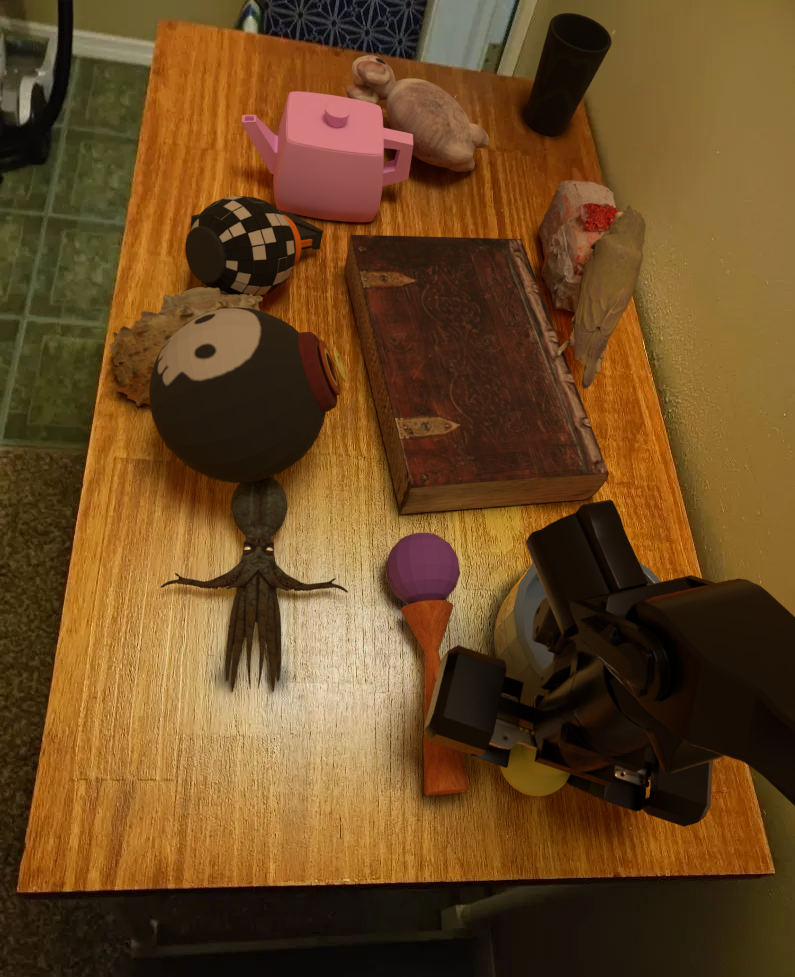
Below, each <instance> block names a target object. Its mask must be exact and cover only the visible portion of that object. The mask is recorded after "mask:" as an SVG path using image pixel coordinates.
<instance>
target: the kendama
mask: <svg viewBox="0 0 795 977" xmlns="http://www.w3.org/2000/svg"><path fill="white" fill-rule="evenodd" d="M384 566H385V568H384V569H385V578H386V579H385V580H386V581H387V583H388V585H389V587H390V589H391V590H392V592H393V594H394V596H396V597H397V598H398V599H399V600H401V601H402V602H403V603H405V604H406V605H404V606H402V608H401V609H400V613H401V614H402V616H403V617H404V619H405V621H406V622H407V624H408V626H409V628H410V630H411V631H412V633H413V635H414V636H415V638H416V640H417V641H418V644H419V645H420V647H421V649H422V650H423V652H424V723H425V722H426V719H427V715H428V711H429V707H430V703H431V699H432V695H433V691H434V687H435V683H436V679H437V675H438V671H439V667H440V663H441V659H442V658H441V654H440V649H441V647H442V643H443V640H444V637H445V634H446V631H447V627H448V625H449V622H450V619H451V616H452V612H453V609H454V604H453V602H451V601H448V600H447V599H448V597H450V595H451V594H452V593H453V591H454V590H455V589H456V588H457V586H458V582H459V579H460V575H461V569H460V563H459V557H458V554H457V553H456V551H455V549H454V548H453V546H452V545H451V543H450V542H448V541H447V540H445V539H444V538H443V537H441V536H440V535H438V534H436V533H434V532H433V533H431V532H414V533H410V534H408V535H404V536H403V537H401V538H400V539H399V540H398V541H397V542H396V543H395V544H394V545H393V546H392V548H391V549H390V551H389V553H388V556H387V559H386V562H385V565H384ZM468 791H471V786H470V782H469V777H468V772H467V768H466V764H465V760H464V754H463V752H461V751H458V750H455V749H452V748H449V747H446V746H443V745H440V744H437V743H434V742H431V741H429V739H428V737H427V735H426V734H425V733H424V795H426V796H437V795H451V794H458V793H464V792H468Z"/></svg>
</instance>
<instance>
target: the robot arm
mask: <svg viewBox="0 0 795 977" xmlns="http://www.w3.org/2000/svg"><path fill="white" fill-rule="evenodd" d="M625 530H626V529H625V527H624V524H623V520H622V518H621V515H620V513H619V511H618V509H617V507H616V504H615V502H614V500H612V499H606V500H605V499H604V500H600V501H595V502H588V503H584V504H583V503H582V504H581V505H580V507H579V508H577V510H576V511H575V512H574V513H571V514H568V515H566V516H563V517H561V518H559V519H557V520H554V521H552V522H551V523H549V524H547V525H546V526H544V527H543V528H541V529H538V530H534V531H532V532H531V533H530V534H529V535H528V537H527V539H526V541H525V547H526V549H527V551H528V554H529V557H530V558H531V559H530V560H531V561H532V563H533V564H534V566H535V569H536V571H537V574H538V576H539V579H540V581H541V584H542V586H543V589H544V591H545V594H546V597H545V598H544V599H543V600H542V601H541V603H540V605H539V606H538V608H537V610H536V612H535V615H534V619H533V633H532V639H533V641H534V642H537V643H540V644H543V645H545V646H546V647H547V651H548V652H552V653H554V656H553V661H552V663H551V664H550V665H549V666H548V667H547V668H546V669H544V670H543V674H542V679H541V685H540V688H542V689H545V690H547V693H546V696H542V695H536V696H535V697H534V699H533V705H532V706H533V707H530V706H528V705H525V704H522V703H520V699H521V694H522V689H523V682H521V681H518V680H515V679H512V678H509V677H506V676H505V675H506V670H507V668H506V663H505V661H504V660H501V659H498V658H496V656H492V655H490V654H486V653H483V652H481V651H477V650H474V649H472V648H468V647H465V646H462V645H459V644H457V645H456V646H454V647H452V648H450V649H449V650H446V652H445V653H444V655H443V656H442V658H441V663H440V667H439V671H438V675H437V679H436V683H435V687H434V691H433V695H432V699H431V703H430V707H429V711H428V715H427V719H426V722H425V721H424V726H423V732H424V735H425V734H426V735H427V737H428V739H429V741H431V742H434V743H437V744H440V745H443V746H446V747H449V748H452V749H455V750H458V751H461V752H462V753H464V754H468V755H469V756H471V757H472V758H475V759H478V760H481V761H484V762H487V763H490V764H492V765H496V766H498V767H500V766H501V767H504V768H507V767H508V762H509V757H510V751H511V748H512V747H513V746H514V745H515V744H516V743H518V744H521V745H524V746H527V747H530V748H533V749H536V756H535V762H537V763H540V764H543V765H546V766H549V767H552V768H555V769H558V770H561V771H564V772H567V773H570V776H569V778H568V780H567V781H566V783H565V784H567V785H568V786H571V787H573V788H575V789H577V790H579V791H581V792H583V793H586V794H588V795H589V796H591V797H593V798H596V799H598V800H600V801H603V802H605V803H608V804H611V805H614V806H617V807H621V808H624V809H627V810H629V811H632V812H640V811H643V812H644V813H645V814H646V815H648V816H650V817H654V818H657V819H660V820H663V821H666V822H669V823H672V824H675V825H677V826H681V827H684V828H686V827H688V826H692V825H694V824H698V823H700V822H701V821H702V820H703V819H705V818H706V816H707V814H708V813H709V810H710V808H711V804H712V788H713V787H712V786H713V771H714V770H713V769H714V768H713V766H714V761H715V760H719V759H721V758H723V757H727V758H731V759H733V760H736V761H740V762H742V763H744V764H745V765H746V766H748V767H750V768H752V769H753V770H754V772H757V773H758V774H760V775H761V776H762V777H763V778H764V779H766V781H768V782H769V783H770V784H771V785H772V786H773V787H774V788H775V789H776V790H777V791H778V792H779V793H780V794H781V795H783V796H784V798H786V799H787V800H788V801H789V802H790V803H791V804H792V805H793V806H794V807H795V615H793V613H792V612H791V611H789V610H788V609H787V608H786V607H785V606H784V605H783V604H781V602H779V601H778V599H776V598H775V597H774V596H773V595H772V594H771V593H770V592H769V591H768V590H766V589H765V588H764V587H763V586H761V585H759V584H757V583H755V582H753V581H752V580H751V581H750V580H749V579H745V578H734V579H728V580H727V579H726V580H723V581H719V582H715V581H711V580H708V579H705V578H701V577H699V576H697V575H692V574H691V575H686V576H685V575H684V576H681V577H677V578H671V579H668V580H667V579H666V580H663V581H661V582H658V583H654V584H649V583H648V580H647V578H646V576H645V574H644V572H643V570H642V567H641V565H640V563H641V562H640V561H639V559H638V556H637V555H636V552H635V550H634V549H633V546H632V543H631V542H630V540H629V538H628V535H627V532H626V531H625ZM639 562H640V563H639ZM536 708H537V709H536ZM520 728H523V729H522V730H521V731H520ZM526 730H529V731H528V732H527V733H526ZM531 731H532V732H534V733H533V735H532V733H531ZM647 788H649V796H648V797H646V796H647Z"/></svg>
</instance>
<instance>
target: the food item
mask: <svg viewBox="0 0 795 977" xmlns="http://www.w3.org/2000/svg"><path fill="white" fill-rule="evenodd" d="M614 195H615V192H613V191H612V190H610V188H608V187H606V186H605V185H601V184H599V183H596V182H594V181H582V180H577V179H576V180H575V179H568V180H564V181H561V182H559V185H558V187H557V190H556V191H555V192H554V195H553V197H552V198H551V202H550V203H549V206H548V208H547V210H546V211H545V213H544V216H543V219H542V221H541V223H540V224H539V227H538V229H537V231H538V235H539V238H540V241H541V243H542V252H543V257H544V260H543V263H542V266H541V270H540V275H541V276H542V278H543V281H544V282H545V287H546V288H547V289H548V291H549V292H550V295H551V302H552V305H553V310H554V311H555V310H563V311H567V312H568V311H569V312H571V313H574V314H575V313H576V310H577V301H578V296H579V289H580V282H581V278H582V275H583V272H584V268H585V265H586V263H587V262H588V259H589V257H590V254H591V253H592V251H593V249H592V248H590V247H591V244H592V243H593V242H595V241H597V240H598V239H600V238H601V237H602V236H603V234H604V233H605V232H606V231H607V230H608V229H609V226H610V225H611V223H612V222H613V221H614V218H615V214H616V213H617V212H622V211H621V210H620V208H617V205H616V201H615V198H614Z"/></svg>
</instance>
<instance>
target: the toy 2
mask: <svg viewBox="0 0 795 977" xmlns="http://www.w3.org/2000/svg"><path fill="white" fill-rule="evenodd" d="M351 78H352V81H353V83H351V84H348V85H347V86H346V88H345V93H346V96H347V98H351V99H356V100H361V101H365V102H369V103H373V104H376V105H377V103H378V102H379V101H385V114H386V118H387V122H388V125H389V127H390V129H392V130H396V131H401V132H405V133H410V134H413V151H412V156H413V157H415V158H416V159H418V160H420V161H422V162H424V163H426V164H429V165H431V166H436V167H440V168H447V169H449V170H450V171H452V172H456V173H459V172H470V171H472V170H474V168H475V166H476V162H475V159H474V157H473V156H474V153H475V150H476V149H484V148H486V147H488V146H489V145H490V137H489V135H488V133H487V131H486V130H485V129H484V128H483V127H482V126H480V125H479V124H477V123H473V122H471V121H470V119H469V117H468V115H467V113H466V112H465V110H464V108H463V107H462V106H461V105H460V103H459V102H458V101H457V100H456V99H455V98H454V97H453V95H451V94H450V93H448V92H447V91H446V90H445V89H443V88H441V87H440V85H437V84H435V83H432V82H430V81H428V80H424V79H420V78H412V77H409V78H408V77H407V78H403V79H399V80H396V76H395V73H394V71H393V69H392V67H391V66H390V65H389V63H387V61H385V60H384V59H382V58H381V57H379V56H376V55H373V54H369V55H363V56H360V57H357V58H356V59H355V60H354V61H353V62H352V65H351ZM503 211H504V209H501V212H503Z"/></svg>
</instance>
